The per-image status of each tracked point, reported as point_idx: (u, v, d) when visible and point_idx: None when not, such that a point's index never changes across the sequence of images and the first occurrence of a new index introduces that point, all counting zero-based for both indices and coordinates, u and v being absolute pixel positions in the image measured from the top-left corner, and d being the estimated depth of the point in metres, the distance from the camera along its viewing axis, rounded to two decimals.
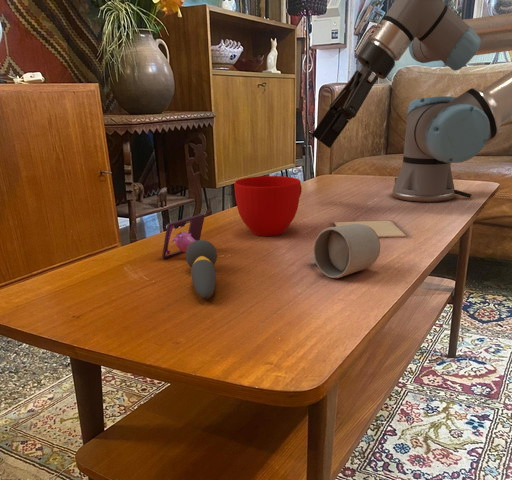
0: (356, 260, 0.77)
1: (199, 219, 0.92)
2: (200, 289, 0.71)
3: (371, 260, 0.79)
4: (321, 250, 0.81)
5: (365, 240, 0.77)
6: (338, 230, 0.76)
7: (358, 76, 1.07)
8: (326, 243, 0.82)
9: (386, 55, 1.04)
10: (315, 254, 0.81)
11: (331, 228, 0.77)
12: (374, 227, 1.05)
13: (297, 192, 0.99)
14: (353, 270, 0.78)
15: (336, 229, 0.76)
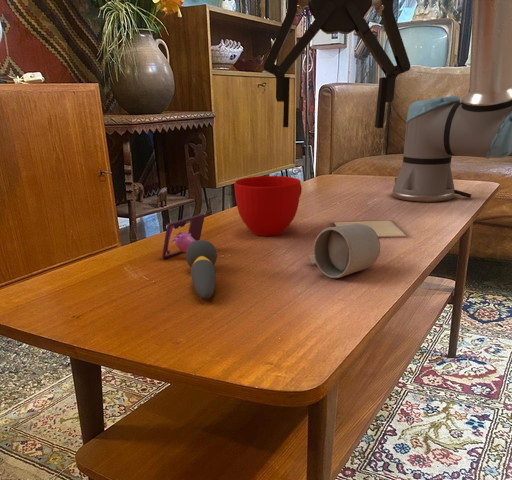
0: (356, 260, 0.77)
1: (199, 219, 0.92)
2: (200, 289, 0.71)
3: (371, 260, 0.79)
4: (321, 250, 0.81)
5: (365, 240, 0.77)
6: (338, 230, 0.76)
7: (357, 9, 0.68)
8: (326, 243, 0.82)
9: None
10: (315, 254, 0.81)
11: (331, 228, 0.77)
12: (374, 227, 1.05)
13: (297, 192, 0.99)
14: (353, 270, 0.78)
15: (336, 229, 0.76)
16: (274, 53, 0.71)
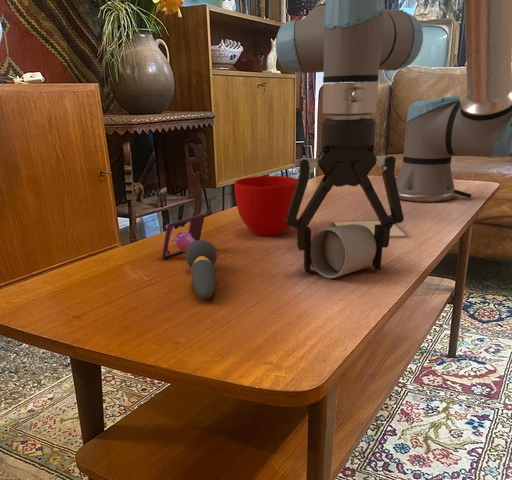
0: (353, 260, 0.77)
1: (199, 219, 0.92)
2: (200, 289, 0.71)
3: (367, 260, 0.79)
4: (317, 251, 0.81)
5: (361, 240, 0.77)
6: (334, 230, 0.76)
7: (363, 169, 0.74)
8: (323, 243, 0.82)
9: None
10: (311, 254, 0.81)
11: (327, 228, 0.77)
12: (374, 227, 1.05)
13: None
14: (349, 270, 0.78)
15: (332, 229, 0.76)
16: (294, 211, 0.77)
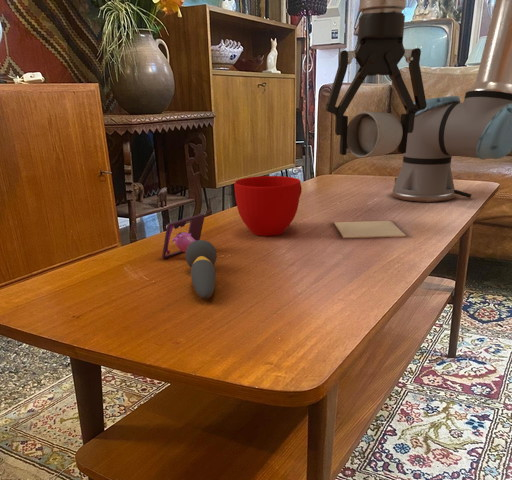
0: (383, 139, 0.91)
1: (199, 219, 0.92)
2: (199, 290, 0.71)
3: (395, 143, 0.93)
4: (352, 137, 0.95)
5: (391, 123, 0.91)
6: (368, 113, 0.90)
7: None
8: (356, 130, 0.95)
9: None
10: (347, 139, 0.95)
11: (362, 112, 0.91)
12: (374, 227, 1.05)
13: (297, 192, 0.99)
14: (380, 149, 0.92)
15: (366, 112, 0.90)
16: (334, 98, 0.91)
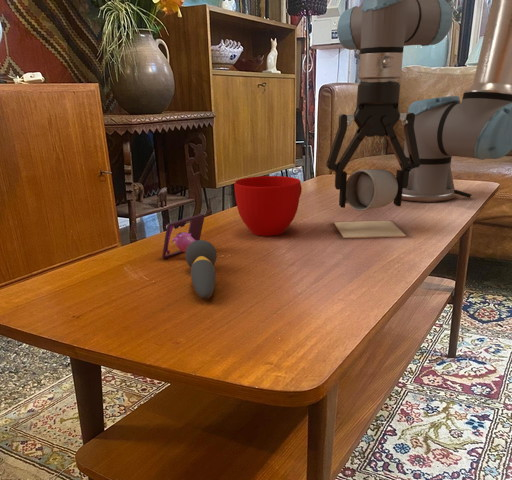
0: (380, 195, 0.97)
1: (199, 219, 0.92)
2: (199, 290, 0.71)
3: (391, 197, 1.00)
4: (350, 190, 1.02)
5: (387, 180, 0.98)
6: (366, 171, 0.96)
7: None
8: (355, 185, 1.02)
9: None
10: (346, 193, 1.01)
11: (360, 170, 0.97)
12: (374, 227, 1.05)
13: (297, 192, 0.99)
14: (377, 204, 0.99)
15: (364, 170, 0.97)
16: (334, 156, 0.98)
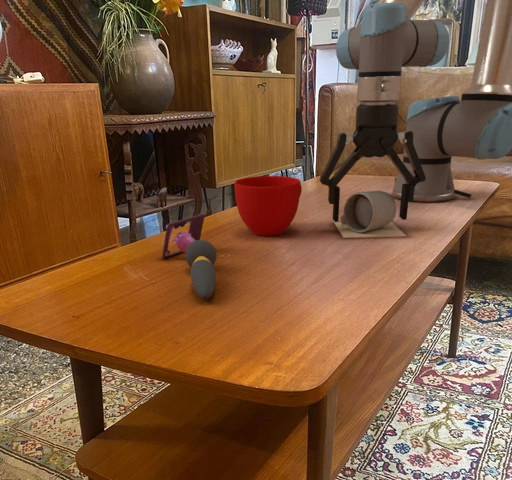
0: (378, 218, 0.99)
1: (199, 219, 0.92)
2: (199, 290, 0.71)
3: (389, 219, 1.02)
4: (349, 212, 1.04)
5: (385, 202, 1.00)
6: (364, 194, 0.98)
7: (388, 142, 0.96)
8: (353, 206, 1.04)
9: None
10: (345, 214, 1.03)
11: (358, 193, 0.99)
12: None
13: (297, 192, 0.99)
14: (375, 226, 1.01)
15: (362, 193, 0.99)
16: (329, 172, 0.99)
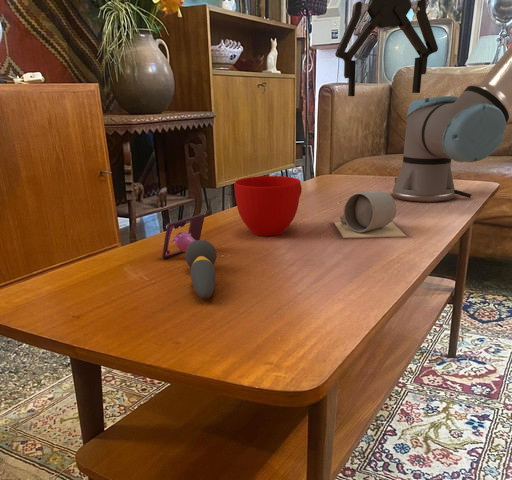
0: (378, 218, 0.99)
1: (199, 219, 0.92)
2: (199, 289, 0.71)
3: (389, 219, 1.02)
4: (349, 212, 1.04)
5: (385, 202, 1.00)
6: (364, 194, 0.98)
7: None
8: (353, 206, 1.04)
9: None
10: (345, 214, 1.03)
11: (358, 193, 0.99)
12: None
13: (297, 192, 0.99)
14: (375, 226, 1.01)
15: (362, 193, 0.99)
16: (345, 44, 1.02)
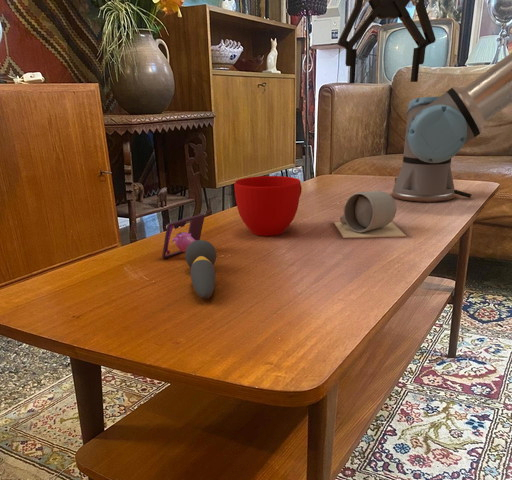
0: (378, 218, 0.99)
1: (199, 219, 0.92)
2: (199, 290, 0.71)
3: (389, 219, 1.02)
4: (349, 212, 1.04)
5: (385, 202, 1.00)
6: (364, 194, 0.98)
7: None
8: (353, 206, 1.04)
9: None
10: (345, 214, 1.03)
11: (358, 193, 0.99)
12: None
13: (297, 192, 0.99)
14: (375, 226, 1.01)
15: (362, 193, 0.99)
16: (346, 33, 1.08)
